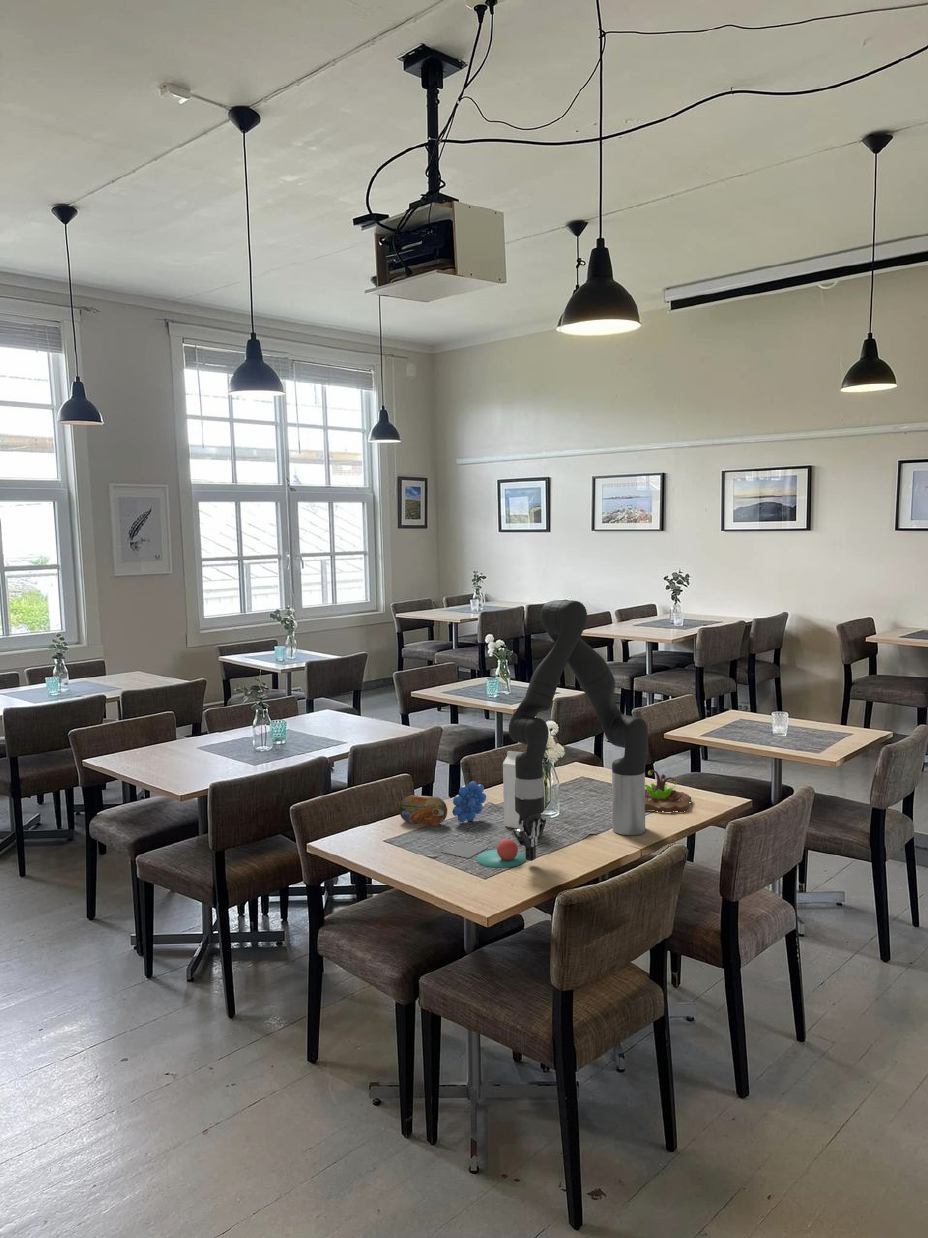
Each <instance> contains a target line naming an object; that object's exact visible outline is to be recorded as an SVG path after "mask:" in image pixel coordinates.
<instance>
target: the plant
mask: <svg viewBox="0 0 928 1238" xmlns="http://www.w3.org/2000/svg"><path fill="white" fill-rule="evenodd" d="M654 773H655V775H656V784H654V783H650V785H649V784H645V810H655V811H658V812H662V811H664V812H673V811H678V812H684V811H687V810H688V809H690V807H689V806H690V804H689V802H691V803H692V797H691V796H690V795H689V794H688V793H685V792H683V791H676V789H675V788H676V786H674V785H678V780H677V779H676V778H674V777H672V776H669V777H667V776H666V775H665V774H663V773H662V774H661V775H659V773H658V771H656V770H654V769H650V770H648V772H647V774H648V776H652V775H653V774H654ZM668 780H672V783H673V786H671V787H669V788H667V787H668V784H667V782H668ZM688 811H689V810H688ZM688 811H687V812H688ZM684 813H685V812H684Z"/></svg>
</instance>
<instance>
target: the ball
mask: <svg viewBox="0 0 928 1238" xmlns="http://www.w3.org/2000/svg"><path fill="white" fill-rule="evenodd" d="M496 850H497V853H498V855H499V857H500V858H501V859H503V860H506V861H510V860H512V859H514V858H515V857H516V855H517V853H518V852H519V847H518V845H517V842H515V841H514V840H513V839H509V838H506V839H505V838H504V839H502V840H501V841H500V842H499V843H498V845H497V847H496Z"/></svg>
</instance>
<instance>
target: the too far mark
mask: <svg viewBox="0 0 928 1238" xmlns="http://www.w3.org/2000/svg"><path fill="white" fill-rule="evenodd" d="M487 849H488V847H486V846H481V845H476V844H470V843H468V842H467V843H466V842H462V841H460V842H458V843H456V844H454V845H451V846H450V847H447V848H446V849H444V850H442V851H441V852H440V853H442V854H447V855H451V856H455V855H456V857H459V856H461V857H460V858H464V857H465V858H464V859H468V858H469V859H470V858H472V857H474V856H476V855H479V854H481V853H483V851H484V852H485V851H486V850H487Z"/></svg>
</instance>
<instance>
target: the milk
mask: <svg viewBox="0 0 928 1238" xmlns="http://www.w3.org/2000/svg"><path fill="white" fill-rule="evenodd" d="M519 753H522V751H512V750H508V751H507V753H506V754H507V756H506V757H505V759H504V760H503V762H502V777H503V778H502V782H503V783H502V784H503V786H502V787H503V790H502V791H503V826H504V827H506V826H507V828H513V829H518V827H519V817H520V816H519V814H518V813H517V812H516V811H515V778H516V772H515V759H516V756H517V755H518V754H519Z"/></svg>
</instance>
